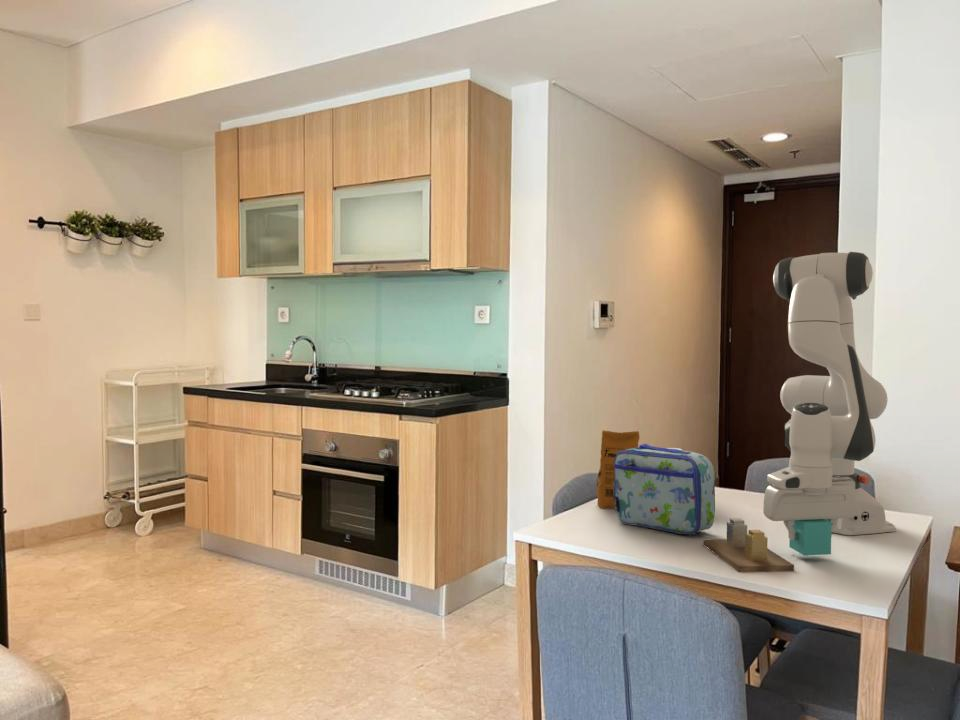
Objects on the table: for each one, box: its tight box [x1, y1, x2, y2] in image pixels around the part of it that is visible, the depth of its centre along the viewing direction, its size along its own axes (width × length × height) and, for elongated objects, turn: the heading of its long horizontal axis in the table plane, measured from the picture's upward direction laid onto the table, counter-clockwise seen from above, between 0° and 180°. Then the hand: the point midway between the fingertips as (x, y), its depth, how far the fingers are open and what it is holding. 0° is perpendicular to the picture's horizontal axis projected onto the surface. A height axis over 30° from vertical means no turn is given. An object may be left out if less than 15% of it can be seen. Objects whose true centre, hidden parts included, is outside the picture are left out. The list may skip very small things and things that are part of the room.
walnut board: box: [702, 538, 795, 573], centre depth 166 cm, size 12×20×1 cm, turn 4°
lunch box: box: [613, 443, 716, 536], centre depth 191 cm, size 26×11×21 cm, turn 43°
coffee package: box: [596, 429, 640, 509], centre depth 214 cm, size 10×12×22 cm
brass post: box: [745, 529, 768, 561], centre depth 161 cm, size 3×3×6 cm
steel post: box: [726, 517, 748, 548], centre depth 171 cm, size 3×3×6 cm
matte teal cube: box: [789, 519, 832, 556], centre depth 165 cm, size 6×6×7 cm
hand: (809, 538), depth 165 cm, fingers closed on matte teal cube, 6 cm apart
